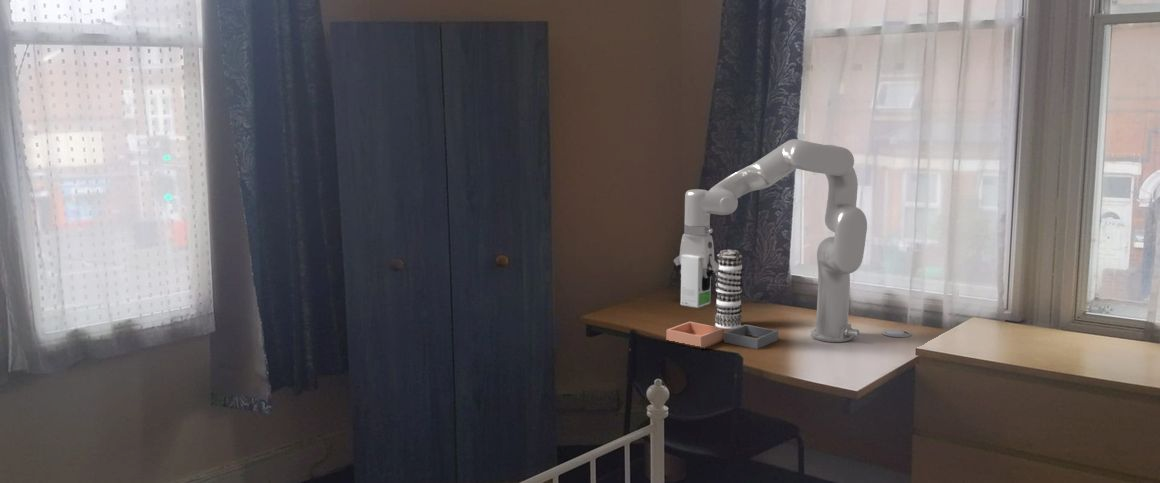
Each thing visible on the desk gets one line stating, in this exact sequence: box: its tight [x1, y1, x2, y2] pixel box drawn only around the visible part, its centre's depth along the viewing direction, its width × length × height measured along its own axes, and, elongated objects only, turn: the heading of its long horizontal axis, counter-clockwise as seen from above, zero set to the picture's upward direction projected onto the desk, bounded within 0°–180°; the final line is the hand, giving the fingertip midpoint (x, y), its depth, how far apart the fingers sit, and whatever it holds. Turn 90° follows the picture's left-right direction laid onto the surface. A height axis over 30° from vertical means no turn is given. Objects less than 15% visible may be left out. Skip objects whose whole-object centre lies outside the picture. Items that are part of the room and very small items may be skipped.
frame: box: [723, 324, 779, 350], centre depth 284 cm, size 12×13×3 cm
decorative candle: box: [714, 249, 745, 330], centre depth 300 cm, size 9×9×25 cm
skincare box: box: [680, 255, 712, 309], centre depth 281 cm, size 8×7×16 cm
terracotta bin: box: [665, 321, 725, 348], centre depth 284 cm, size 13×13×4 cm
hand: (695, 287), depth 282 cm, fingers closed on skincare box, 6 cm apart
